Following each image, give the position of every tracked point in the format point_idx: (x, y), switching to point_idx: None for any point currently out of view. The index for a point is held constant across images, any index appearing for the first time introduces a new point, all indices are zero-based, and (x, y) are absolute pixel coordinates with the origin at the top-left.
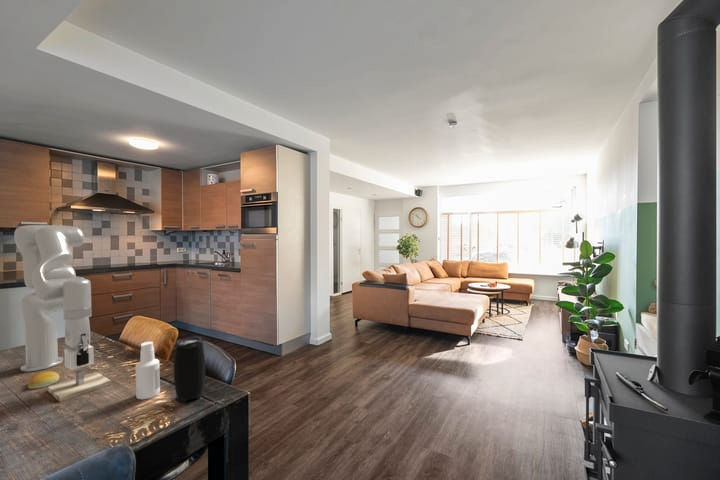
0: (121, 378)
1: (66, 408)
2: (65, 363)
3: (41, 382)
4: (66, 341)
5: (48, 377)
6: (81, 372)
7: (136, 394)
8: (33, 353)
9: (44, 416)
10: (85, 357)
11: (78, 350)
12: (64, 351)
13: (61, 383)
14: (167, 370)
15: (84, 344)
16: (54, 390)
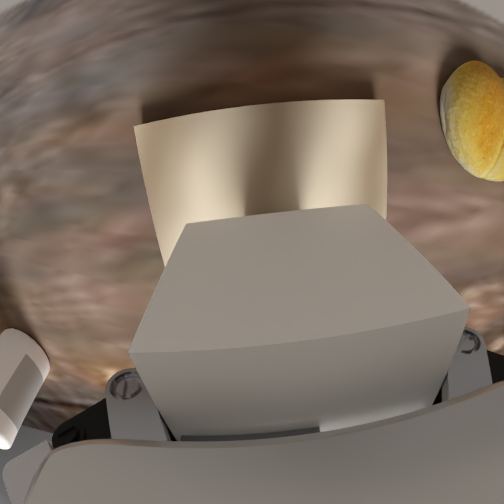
0: None
1: (53, 150)
2: (353, 217)
3: (455, 96)
4: (487, 458)
5: (473, 130)
6: None
7: (9, 335)
8: None
9: (42, 82)
10: None
11: (110, 422)
12: (442, 285)
13: (369, 157)
14: None
15: (10, 489)
16: (282, 110)
